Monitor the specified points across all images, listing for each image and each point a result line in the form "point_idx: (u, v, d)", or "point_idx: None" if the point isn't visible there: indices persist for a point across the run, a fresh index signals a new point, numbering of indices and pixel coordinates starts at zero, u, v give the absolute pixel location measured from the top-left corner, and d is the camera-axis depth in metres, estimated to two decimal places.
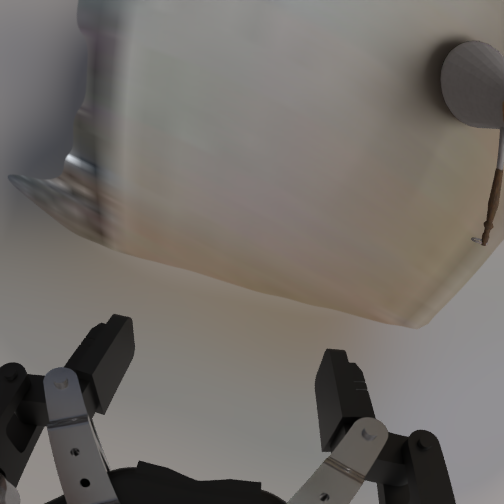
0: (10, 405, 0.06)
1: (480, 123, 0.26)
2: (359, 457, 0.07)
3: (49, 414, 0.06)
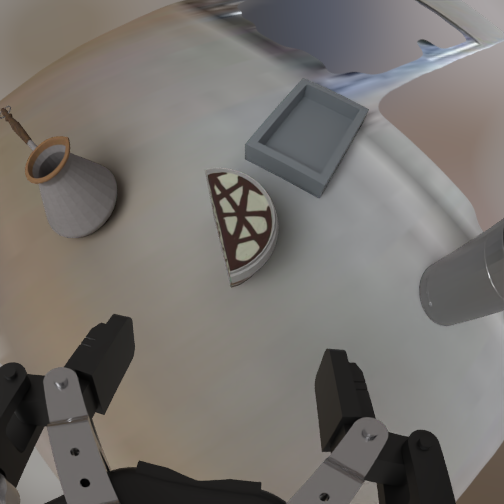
0: (10, 405, 0.06)
1: None
2: (359, 457, 0.07)
3: (49, 414, 0.06)
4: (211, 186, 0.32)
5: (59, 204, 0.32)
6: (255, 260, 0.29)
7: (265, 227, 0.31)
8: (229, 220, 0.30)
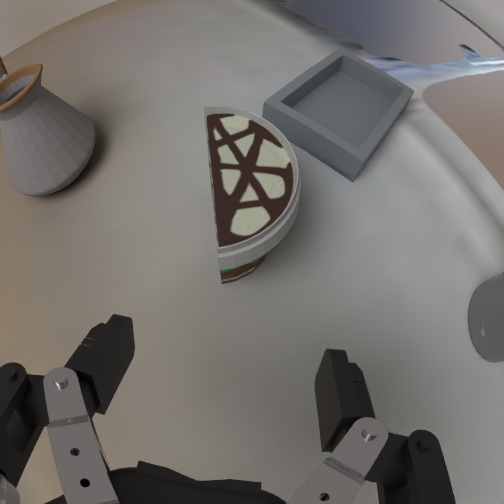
0: (10, 405, 0.06)
1: None
2: (360, 457, 0.07)
3: (49, 414, 0.06)
4: (209, 129, 0.21)
5: (17, 146, 0.22)
6: (261, 235, 0.18)
7: (282, 190, 0.19)
8: (228, 174, 0.19)
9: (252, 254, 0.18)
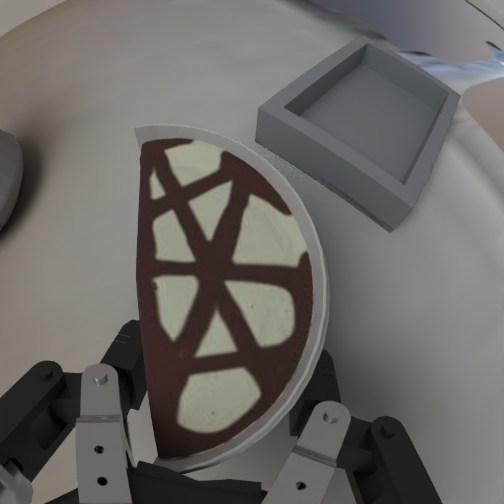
0: (39, 403, 0.07)
1: None
2: (326, 441, 0.07)
3: (81, 408, 0.07)
4: (143, 174, 0.11)
5: None
6: None
7: (288, 325, 0.09)
8: (171, 290, 0.09)
9: None
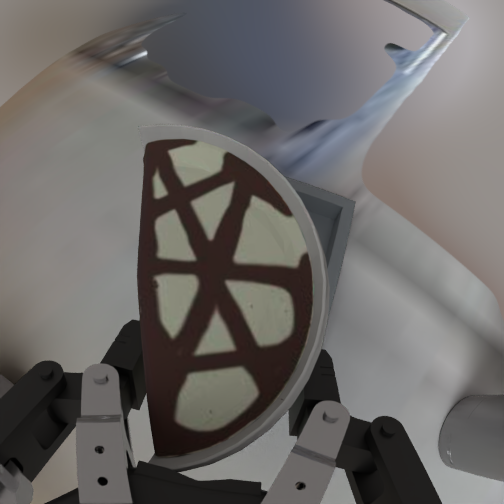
0: (40, 404, 0.07)
1: None
2: (326, 441, 0.07)
3: (82, 408, 0.07)
4: (146, 174, 0.11)
5: None
6: None
7: (288, 326, 0.09)
8: (171, 288, 0.09)
9: None
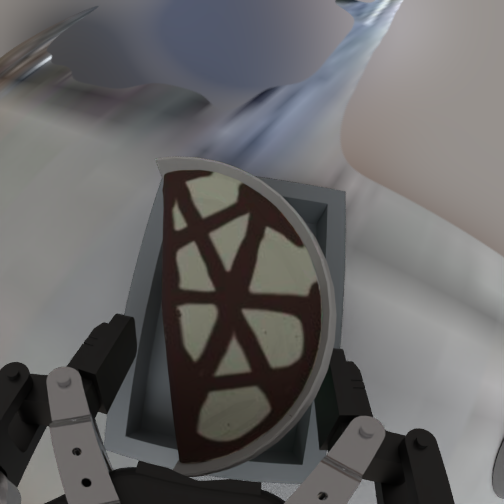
0: (12, 405, 0.06)
1: None
2: (357, 455, 0.07)
3: (52, 413, 0.07)
4: (166, 205, 0.12)
5: None
6: None
7: (298, 350, 0.10)
8: (193, 317, 0.10)
9: None
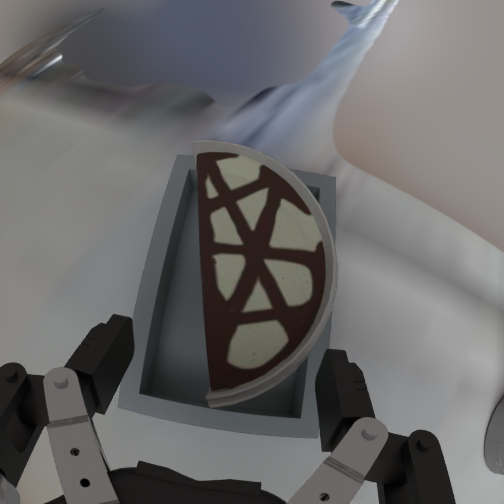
0: (10, 405, 0.06)
1: None
2: (359, 457, 0.07)
3: (49, 414, 0.06)
4: (200, 178, 0.14)
5: None
6: (274, 375, 0.11)
7: (308, 292, 0.13)
8: (226, 264, 0.13)
9: (259, 393, 0.11)
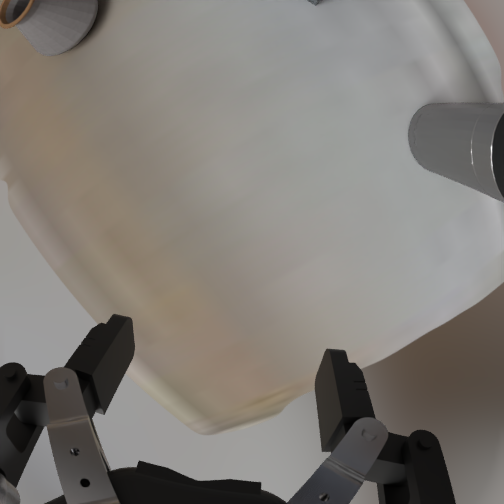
0: (10, 405, 0.06)
1: None
2: (359, 457, 0.07)
3: (49, 414, 0.06)
4: None
5: (37, 33, 0.23)
6: None
7: None
8: None
9: None
